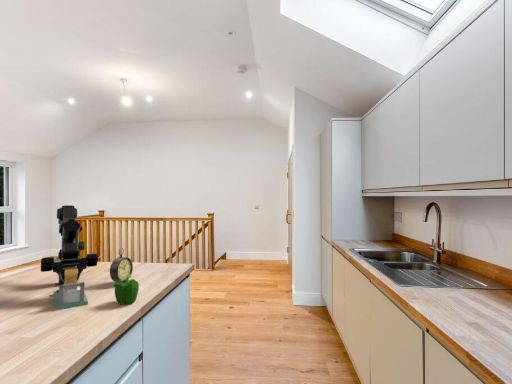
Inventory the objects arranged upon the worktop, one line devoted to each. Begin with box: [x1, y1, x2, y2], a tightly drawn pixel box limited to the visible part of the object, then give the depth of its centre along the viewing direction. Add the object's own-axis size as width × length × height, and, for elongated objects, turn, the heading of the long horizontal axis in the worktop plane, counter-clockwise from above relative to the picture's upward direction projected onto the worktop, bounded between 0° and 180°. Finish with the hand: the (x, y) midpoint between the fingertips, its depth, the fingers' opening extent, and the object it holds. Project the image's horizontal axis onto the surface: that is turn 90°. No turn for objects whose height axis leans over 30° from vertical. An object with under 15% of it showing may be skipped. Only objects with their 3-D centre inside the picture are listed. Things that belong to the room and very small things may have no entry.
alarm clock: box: [109, 247, 134, 283], centre depth 132 cm, size 11×5×16 cm, turn 168°
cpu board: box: [53, 281, 89, 311], centre depth 111 cm, size 20×10×8 cm, turn 36°
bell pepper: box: [114, 274, 140, 305], centre depth 108 cm, size 8×8×10 cm
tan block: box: [63, 266, 78, 293], centre depth 107 cm, size 10×4×10 cm, turn 36°
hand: (70, 280), depth 109 cm, fingers closed on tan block, 4 cm apart
